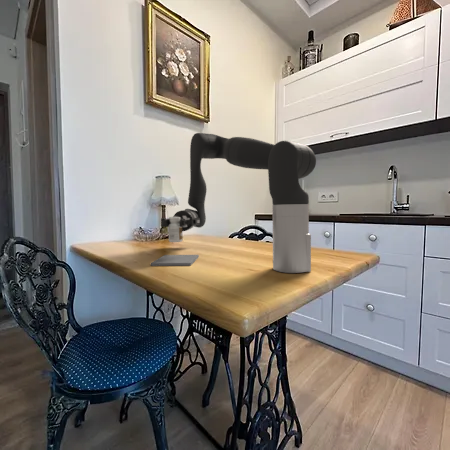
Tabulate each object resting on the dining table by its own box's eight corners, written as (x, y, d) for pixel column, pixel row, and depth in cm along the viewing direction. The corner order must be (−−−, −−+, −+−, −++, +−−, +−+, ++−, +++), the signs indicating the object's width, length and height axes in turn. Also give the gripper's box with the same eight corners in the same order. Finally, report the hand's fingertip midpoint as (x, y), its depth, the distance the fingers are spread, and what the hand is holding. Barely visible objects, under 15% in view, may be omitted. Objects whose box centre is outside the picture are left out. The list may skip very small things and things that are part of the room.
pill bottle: (183, 241, 81) (182, 217, 81) (169, 242, 80) (168, 218, 79) (181, 240, 86) (180, 217, 85) (168, 241, 84) (167, 217, 84)
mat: (198, 256, 89) (198, 254, 89) (190, 265, 76) (190, 263, 75) (164, 257, 90) (164, 254, 90) (150, 265, 76) (150, 263, 76)
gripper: (166, 210, 97) (149, 211, 80) (203, 209, 96) (195, 210, 79) (166, 230, 97) (150, 235, 80) (204, 230, 96) (196, 235, 79)
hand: (173, 223), depth 80 cm, fingers closed on pill bottle, 4 cm apart
